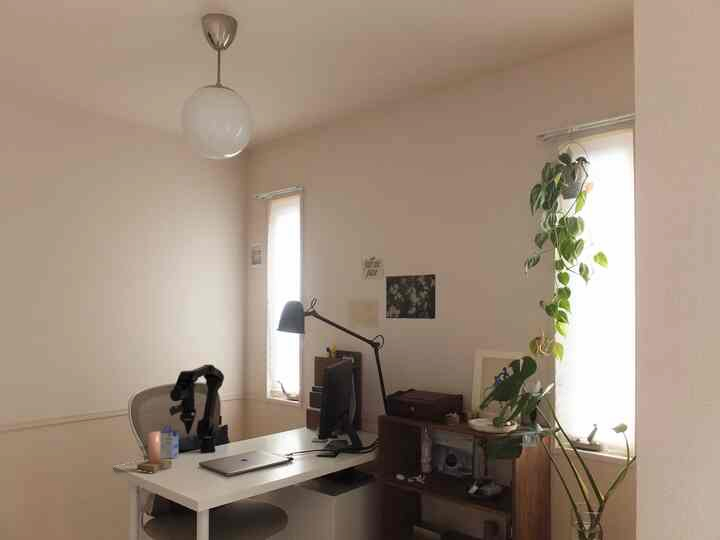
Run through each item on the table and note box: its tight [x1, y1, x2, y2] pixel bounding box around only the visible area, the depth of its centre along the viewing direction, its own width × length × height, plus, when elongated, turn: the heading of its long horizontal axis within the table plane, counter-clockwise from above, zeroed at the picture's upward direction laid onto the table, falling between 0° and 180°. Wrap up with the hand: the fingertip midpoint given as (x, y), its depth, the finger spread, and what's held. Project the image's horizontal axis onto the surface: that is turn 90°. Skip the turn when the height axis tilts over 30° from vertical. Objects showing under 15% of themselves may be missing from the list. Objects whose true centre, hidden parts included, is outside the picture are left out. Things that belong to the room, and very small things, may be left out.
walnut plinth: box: [136, 458, 172, 474], centre depth 244 cm, size 10×10×3 cm
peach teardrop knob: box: [147, 430, 162, 464], centre depth 245 cm, size 5×5×13 cm
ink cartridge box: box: [159, 425, 179, 459], centre depth 266 cm, size 10×6×14 cm, turn 79°
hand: (188, 432), depth 258 cm, fingers open, 9 cm apart
